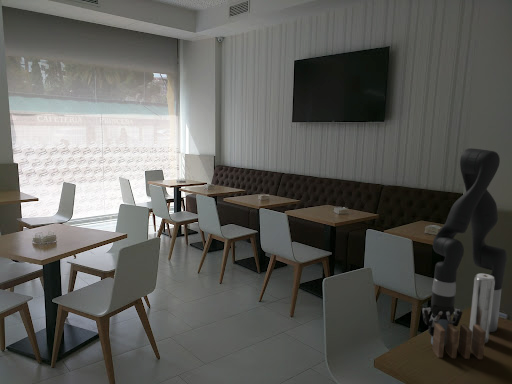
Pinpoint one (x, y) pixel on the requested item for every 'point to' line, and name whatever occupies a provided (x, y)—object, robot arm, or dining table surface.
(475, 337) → the walnut domino
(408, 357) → the dining table surface
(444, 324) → the slate domino
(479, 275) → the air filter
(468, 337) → the walnut domino
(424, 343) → the dining table surface
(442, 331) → the walnut domino
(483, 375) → the dining table surface
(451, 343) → the walnut domino
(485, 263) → the robot arm
